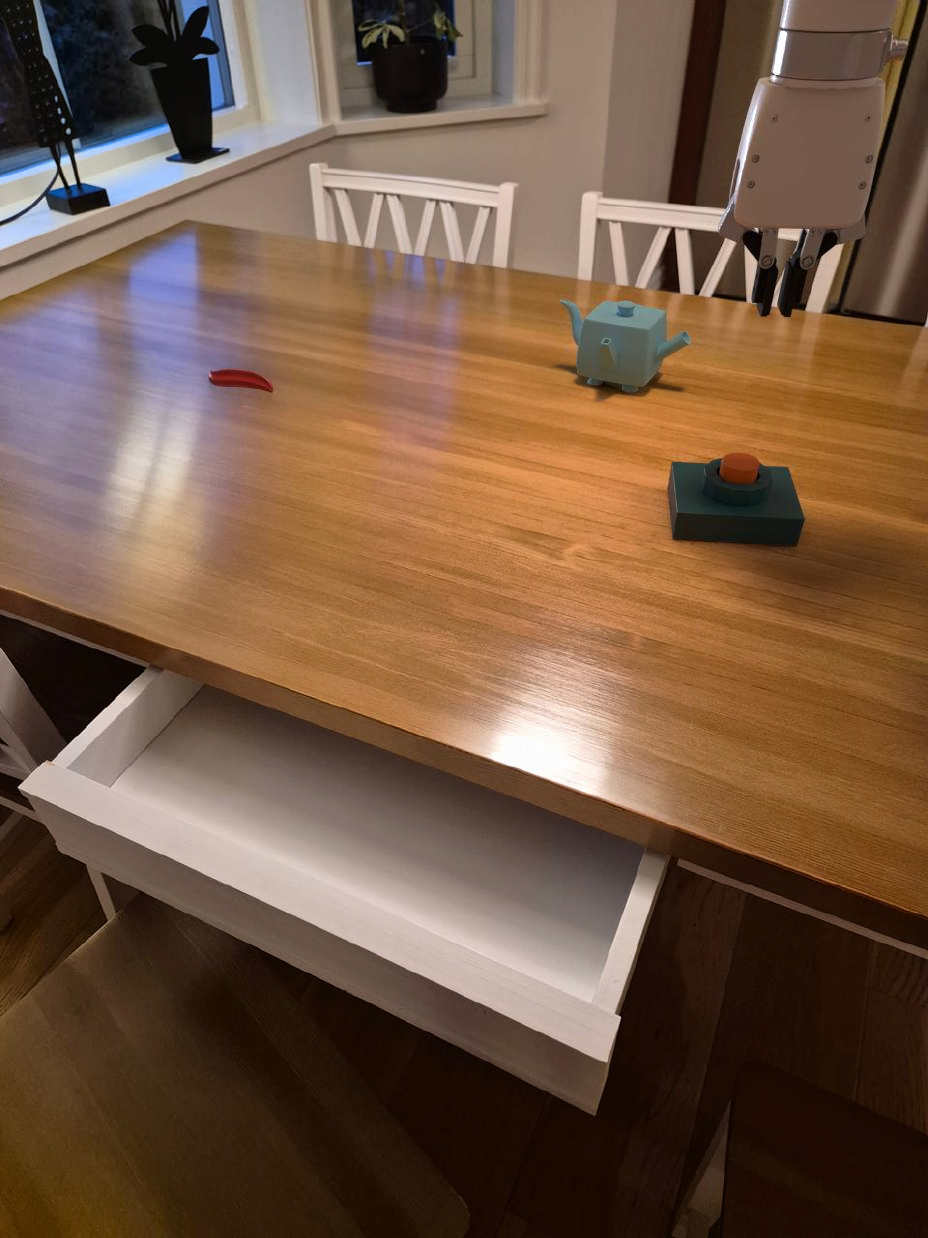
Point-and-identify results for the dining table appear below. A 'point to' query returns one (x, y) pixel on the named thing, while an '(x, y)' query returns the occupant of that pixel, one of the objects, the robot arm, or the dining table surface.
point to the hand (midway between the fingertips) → (773, 310)
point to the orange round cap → (739, 468)
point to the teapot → (622, 343)
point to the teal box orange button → (734, 505)
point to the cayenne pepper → (239, 379)
